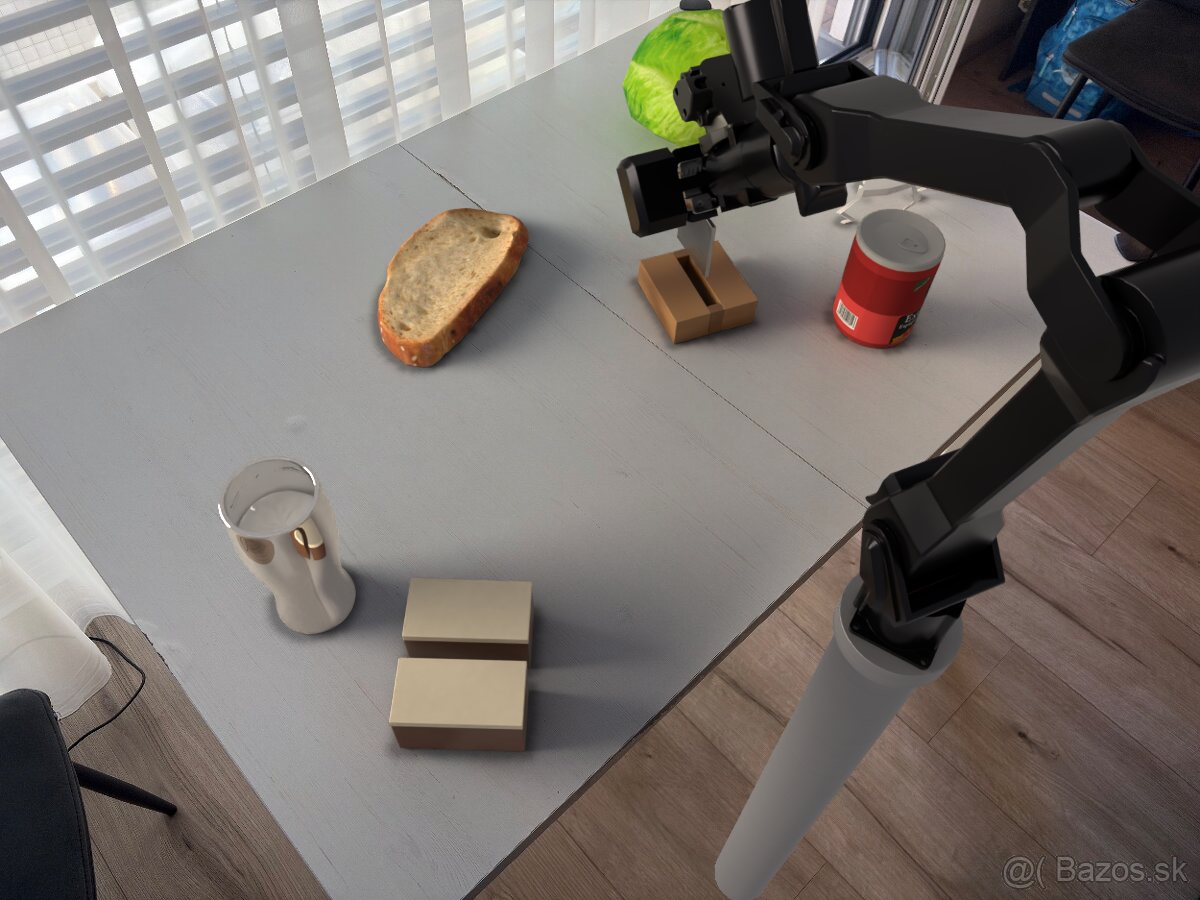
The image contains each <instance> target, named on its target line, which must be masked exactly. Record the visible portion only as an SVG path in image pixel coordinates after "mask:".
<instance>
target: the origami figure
mask: <svg viewBox="0 0 1200 900" xmlns="http://www.w3.org/2000/svg"><path fill="white" fill-rule="evenodd" d="M910 188H911V192H912V195H913V200H912V202H910V203H909V204H907V205H906V206H905V207H903V208H902V209H901V210H906V211H907V210H908V209H910V208H911V207H913V206H915V205H916V204H917V203H919V202H920V200H921V199H922V196H921V195H920V193H919V192H922V191H926V190H929V189H928V188H924V187H919V188H917V186H915V185H911V184H907V183H903V182H898V181H894V180H890V179H872V180H866V181H862V184H859V186H858V189H857V191H856V194H855V197H854V198H853V199H852V200H850V201H849V202H847V203H846V205H845V206H842V207H840V208H838V210H837V211H836V213H837V214H838V215H840V216H842V217H843V218H845V219H842V220H841V221H840V224H842V225H844V224H848V223H851V222H854V221H855V217H853V216H851V215H850V214H848V213H846V212H845V211H846V210H848V209H850V207H852V206H854V204H856V203H857V202H859V201H860V200H861V199H863V198H870V197H879V196H888V195H893V194H895V193H898V192H901V191H904V190H908V189H910Z"/></svg>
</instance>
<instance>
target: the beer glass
mask: <svg viewBox="0 0 1200 900" xmlns="http://www.w3.org/2000/svg"><path fill="white" fill-rule="evenodd" d="M218 511H219V515H220V517H221V519H222V521H223V523H224V526H225V529H226V531H227V534H228V537H229V539H230V542H231V543H232V545H233V548H234V550H235V552H236V554H237V555H238V557H239V558H240V560H241V561H242V563H243V565H244V566H245V567H246V568H247V569H248V570H249V571H250V573H251V574H252V575H253V576H254V577H255V578H256V579H257V580H258V581H259V582H260V583H261V584H262V585H263V586H265V588H267V589H268V590H269V591H270V592H271V593H272V594H273V595H274V601H275V607H276V611H277V614H278V617H279V618H280V620H281V621H282V623H283V624H284V625H285V626H286V627H287V628H289V629H290V630H292V631H294V632H296V633H299V634H304V635H316V634H321V633H326V632H328V631H330V630H332V629H334V628H337V626H339V625H340V624H341V623H343V622H344V621H345V620H346V619H347V617H348V616H349V615H350V613H351V612H352V610H353V608H354V605H355V603H356V596H357V595H356V594H357V593H356V592H357V591H356V586H355V583H354V580H353V579H352V577H351V575H350V574H349V573H348V572H347V571H346V570H345V569H344V567H342V564H341V546H340V545H341V543H340V534H339V525H338V522H337V519H336V516H335V512H334V508H333V506H332V504H331V502H330V499H329V498H328V495H327V493H326V491H325V490H324V488H323V486H322V484H321V482H320V480H319V478H318V475H317V473H316V472H315V471H314V469H313V468H312V467H311V465H309V464H308V463H306V462H305V461H304V460H302V459H299V458H297V457H295V456H290V455H284V454H283V455H282V454H273V455H265V456H261V457H258V458H255V459H252V460H250V461H247V462H246V463H244V464H243V465H241V466H239V468H237V469H236V470H234V471H233V472H232V473H231V475H229V477H228V478H227V479H226V481H225V482H224V484H223V485H222V487H221V489H220V492H219V497H218Z"/></svg>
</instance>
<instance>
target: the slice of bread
mask: <svg viewBox="0 0 1200 900" xmlns="http://www.w3.org/2000/svg"><path fill="white" fill-rule="evenodd" d="M529 240H530V233H529V231H528V229H527V226H526V225H525V224H524V223H523V221H522V220H521V219H520V218H518V217H517V216H515V215H511V214H507V213H500V212H499V213H498V212H494V211H490V210H485V209H479V208H472V207H461V208H451V209H448V210H444V211H443V212H440V213H439V214H436V215H435V216H434V217H433V218H431V219H430V220H429V221H428V222H426V223H425V224H423V225H422V226H421V227H419V228H418V229H417V230H415V231H414V232H413V233H412V234H411V235H410V237H408V238H407V239H406V240H405V241H404V242H403V243H402V244H401V246H400V247H399V248H398V250H397V251H396V252H395V254H394V255H393V257H392V259H391V261H390V262H389V263H388V265H387V272H386V273H387V276H386V277H387V278H386V282H385V284H384V287H383V289H382V291H381V292H380V294H379V297H378V302H377V303H378V305H377V307H378V308H377V322H378V327H379V332H380V336H381V339H382V341H383V343H384V344H385V346H386V348H387V349H388V351H390V353H391V354H392V355H393V356H394V357H395V358H396V359H398V360H400V361H402V362H403V363H404V364H405V365H406V366H412V367H421V368H426V367H427V368H428V367H432V366H433V365H434V364H437V363H438V362H440V361H441V360H442V358H443V357H444V355H445V354H448V353H449V352H450V351H451V350H452V349H453V348H454V347H455V346H456V345H457V344H459V343H461V342H462V341H463V339H464V337H465V336H466V334H468V332H470V331H471V330H472V329H473V327H474V326H475V324H476V323H477V321H478V320H479V319H480V318H481V317H482V316H483V314H484V313H485V312H486V310H488V309H489V307H491V305H492V304H493V303H494V301H496V299H497V298H498V297H499V296H500V294H501V293H502V291H504V289H505V288H506V286H507V285H508V283H509V282H510V280H511V279H512V278H513V277H514V275H515V274H516V272H517V270H518V269H519V266H520V264H521V259H522V257H523V255H524V253H525V251H526V249H527V246H528V244H529V242H530V241H529Z"/></svg>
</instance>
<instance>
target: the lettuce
mask: <svg viewBox="0 0 1200 900" xmlns="http://www.w3.org/2000/svg"><path fill="white" fill-rule="evenodd" d="M723 11H724V10H723V9H721V8H716V9H715V8H714V9H702V10H680V11H676V12H674V13H673V12H672V13H671V14H669V15H668V16H667V17H666V18H665V19H664V20H663V21H661V22H660V23H659V24H658V25H657V26H655V27H654V28H653V29H652V30H650V32H648V33H647V34H646V35H645V36H644V38H643V39H642V40H641V41H640V43H639V44H638V46H637V47H636V49H635V51H634V53H633V54H632V57H631V61H630V63H629V65H628V68H627V71H626V73H625V76H624V79H623V81H622V84H621V85H622V88H623V94H624V99H625V101H626V106H627V109H628V111H629V114H630V117H631V119H633V120H634V121H636V122H637V123H639V124H640V125H641V126H642V127H644V128H646V129H647V130H648V131H650V132H651V133H652V134H654V135H656V136H658V137H660V138H662V139H663V140H666V141H668V142H670V143H673V144H674V145H677V146H678V147H679V148H681V147H685V146H689V145H693V144H697V143H699V139H698V138H699V137H702V136H704V135H706V131H705V128H704V127H699V125H698V123H697V122H695V121H691V122H684V121H683V120H682V119H681V116H680V114H679V111H678V109H677V106H676V104H675V101H674V99H673V89H674V87H675V85H676V83H677V81H678V80H680V74H681V73H683V72H687V71H688V70H689V68H690V67H693V66H698V65H700V64H701V62H702V61H703V60H704V59H707V58H711V57H715V56H720V55H724V54H729V53H730V48H729V44H728V40H727V35H726V31H725V26H724V22H723V18H722V12H723Z"/></svg>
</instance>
